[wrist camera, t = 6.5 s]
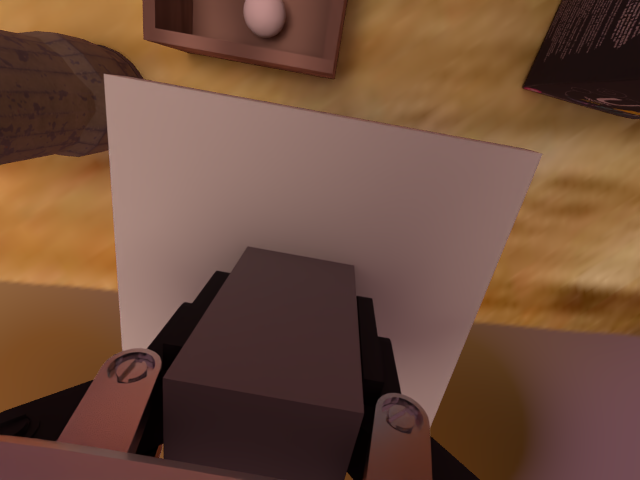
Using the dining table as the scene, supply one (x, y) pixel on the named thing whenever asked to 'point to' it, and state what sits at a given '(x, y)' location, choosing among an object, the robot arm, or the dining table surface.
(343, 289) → the lid
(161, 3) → the box
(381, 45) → the dining table surface
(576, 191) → the dining table surface
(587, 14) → the tampon box
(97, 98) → the thermos
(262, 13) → the ball
